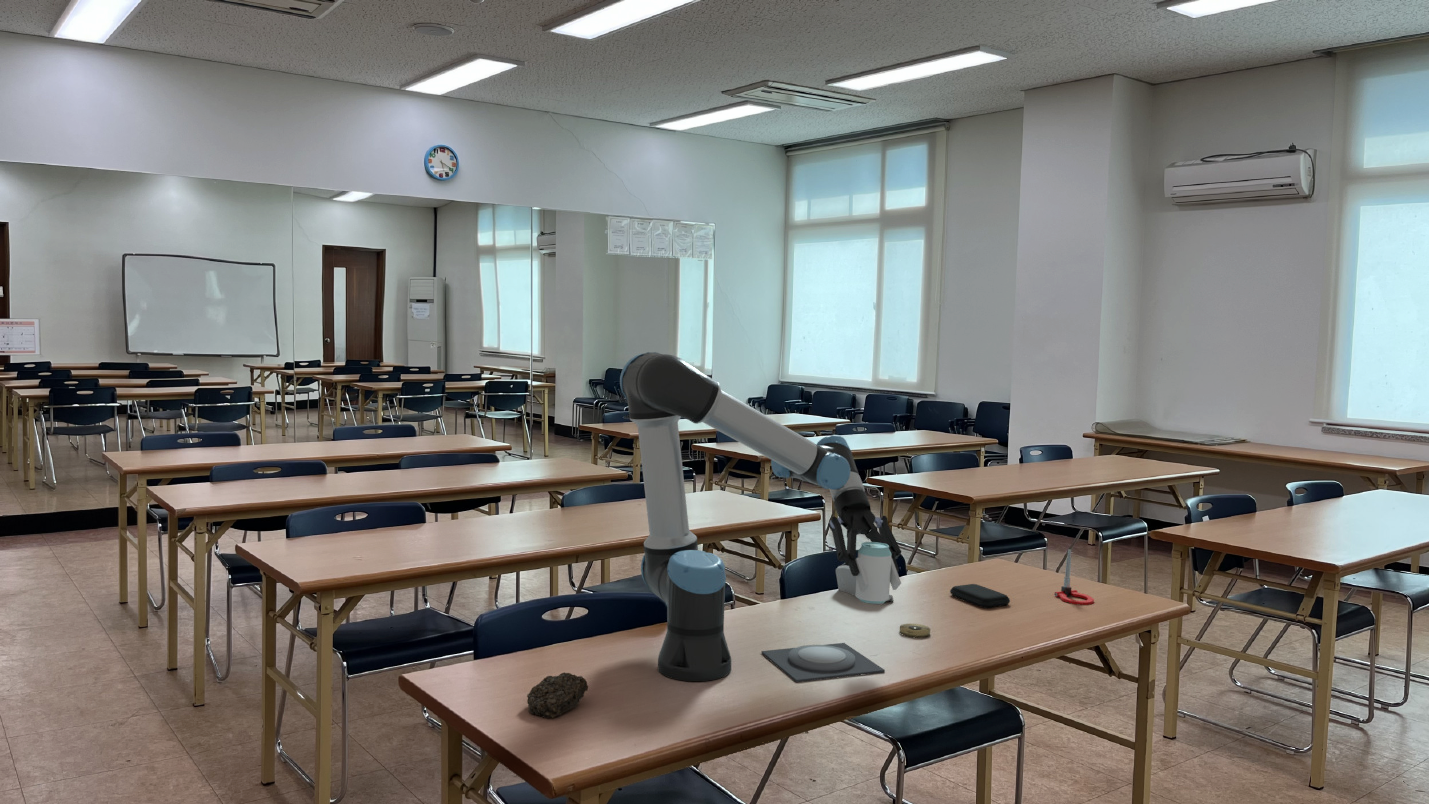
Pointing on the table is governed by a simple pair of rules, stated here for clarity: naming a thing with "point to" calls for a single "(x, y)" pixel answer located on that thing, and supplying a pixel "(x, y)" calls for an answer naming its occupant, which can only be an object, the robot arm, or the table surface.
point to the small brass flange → (915, 630)
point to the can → (875, 572)
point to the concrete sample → (556, 694)
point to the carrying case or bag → (980, 595)
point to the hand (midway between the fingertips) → (881, 587)
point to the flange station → (821, 662)
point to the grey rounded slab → (848, 581)
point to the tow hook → (1067, 589)
